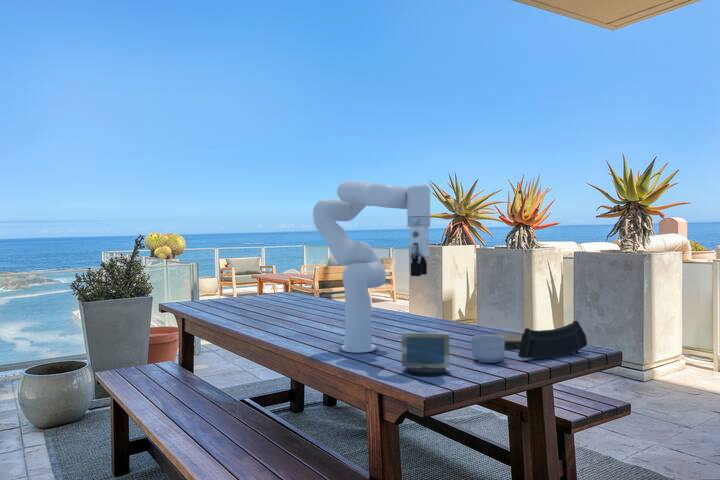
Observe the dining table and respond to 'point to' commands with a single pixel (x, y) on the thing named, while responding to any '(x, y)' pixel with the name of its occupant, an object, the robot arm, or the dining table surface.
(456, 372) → the dining table surface
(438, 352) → the frame
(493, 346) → the teacup
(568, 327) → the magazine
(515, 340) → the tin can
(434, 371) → the stand
